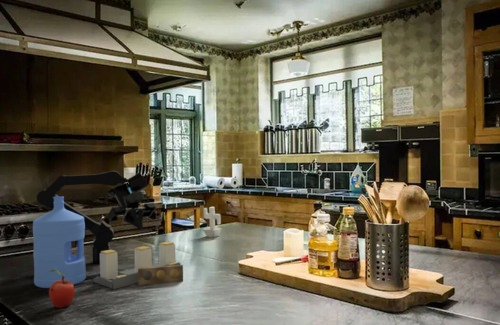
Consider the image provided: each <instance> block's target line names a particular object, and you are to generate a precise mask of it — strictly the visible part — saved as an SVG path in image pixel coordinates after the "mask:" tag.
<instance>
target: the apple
mask: <svg viewBox="0 0 500 325" xmlns="http://www.w3.org/2000/svg"><path fill="white" fill-rule="evenodd" d="M54 271H56V270H50V271H49V272H54ZM56 272H58V273H59V274H60V275H61V273H60V271H56ZM64 277H65V275H63V276H62V280H59V281H56V282H54V283H53V284H52V285H51V287H50V288H48V289H49V290H48V295H49V296H48V297H49V299H50V301H51V303H52V305H53V306H54V307H55V308H58V309H62V308H66V307H68V306H70V305H71V304H72V302H73V299H74V297H75V293H76V289H75V288H76V286H75V285H73V284H72V283H71V282H69V281H67V280H64Z"/></svg>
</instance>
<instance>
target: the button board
mask: <svg viewBox="0 0 500 325" xmlns="http://www.w3.org/2000/svg"><path fill="white" fill-rule="evenodd" d="M173 265H181V262H178V261H177V262H174V263H170V264H168V265H165V266H173ZM152 267H160V266H159V262H156V263H152ZM93 283H95V284H98V285H102V286H104V287H107V288H110V289H113V290H116V289H119V288H123V287H128V286H131V285H134V284H138V272H137V273H135V268H131V269H127V270H122V271H119V270H118V276H117V277H116V278H112V279H109V280H108V279H105V278H102V277H100V276H96V277H93Z"/></svg>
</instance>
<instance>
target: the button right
mask: <svg viewBox="0 0 500 325" xmlns="http://www.w3.org/2000/svg"><path fill="white" fill-rule="evenodd" d="M158 258H159V260H158V261H159V262H158V263H159V266H165V265H168V264H170V263H174V262H176V261H177V260H176V243H175V242H174V241H173V242H171V241H165V242H160V243H159V244H158ZM176 263H177V262H176Z"/></svg>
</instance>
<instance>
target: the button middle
mask: <svg viewBox="0 0 500 325" xmlns="http://www.w3.org/2000/svg"><path fill="white" fill-rule="evenodd" d="M152 251H153V250H152V248H151V246H145V245H144V246H143V245H142V246H139V247H135V249H134V269H135V273H137V272H138V268H147V267H152V264H153V263H152V262H153V259H152V258H153V257H152V255H153V254H152V253H153V252H152Z"/></svg>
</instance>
